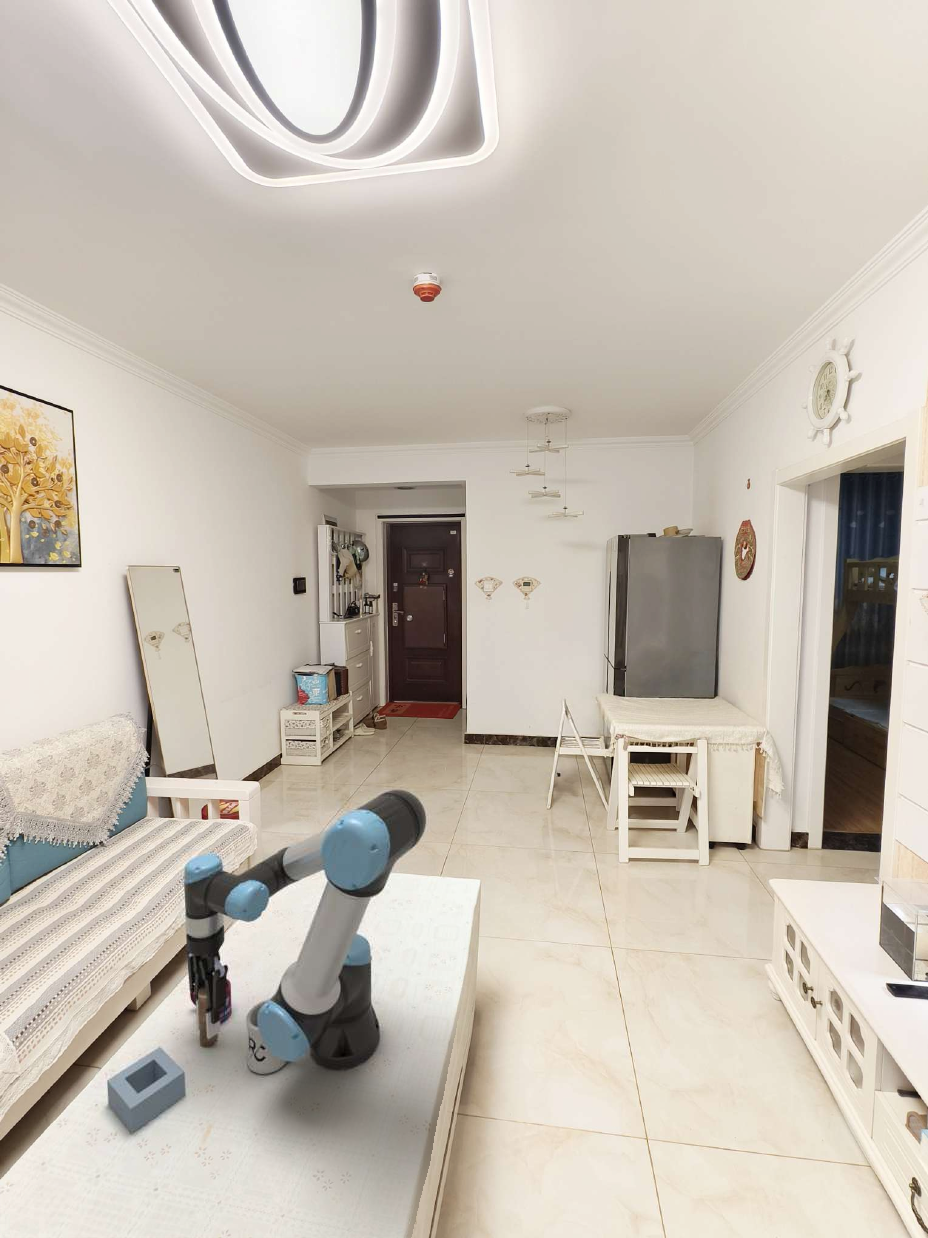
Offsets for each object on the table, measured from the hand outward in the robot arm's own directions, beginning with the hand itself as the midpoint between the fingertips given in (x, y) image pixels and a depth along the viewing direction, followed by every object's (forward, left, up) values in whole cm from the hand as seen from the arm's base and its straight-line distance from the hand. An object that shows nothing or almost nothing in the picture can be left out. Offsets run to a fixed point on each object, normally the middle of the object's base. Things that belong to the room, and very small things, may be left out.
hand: (208, 1030), depth 128 cm
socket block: (-4, +15, -3) cm, 16 cm away
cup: (+7, -5, -3) cm, 9 cm away
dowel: (0, 0, -3) cm, 3 cm away
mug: (-16, -6, -3) cm, 17 cm away
